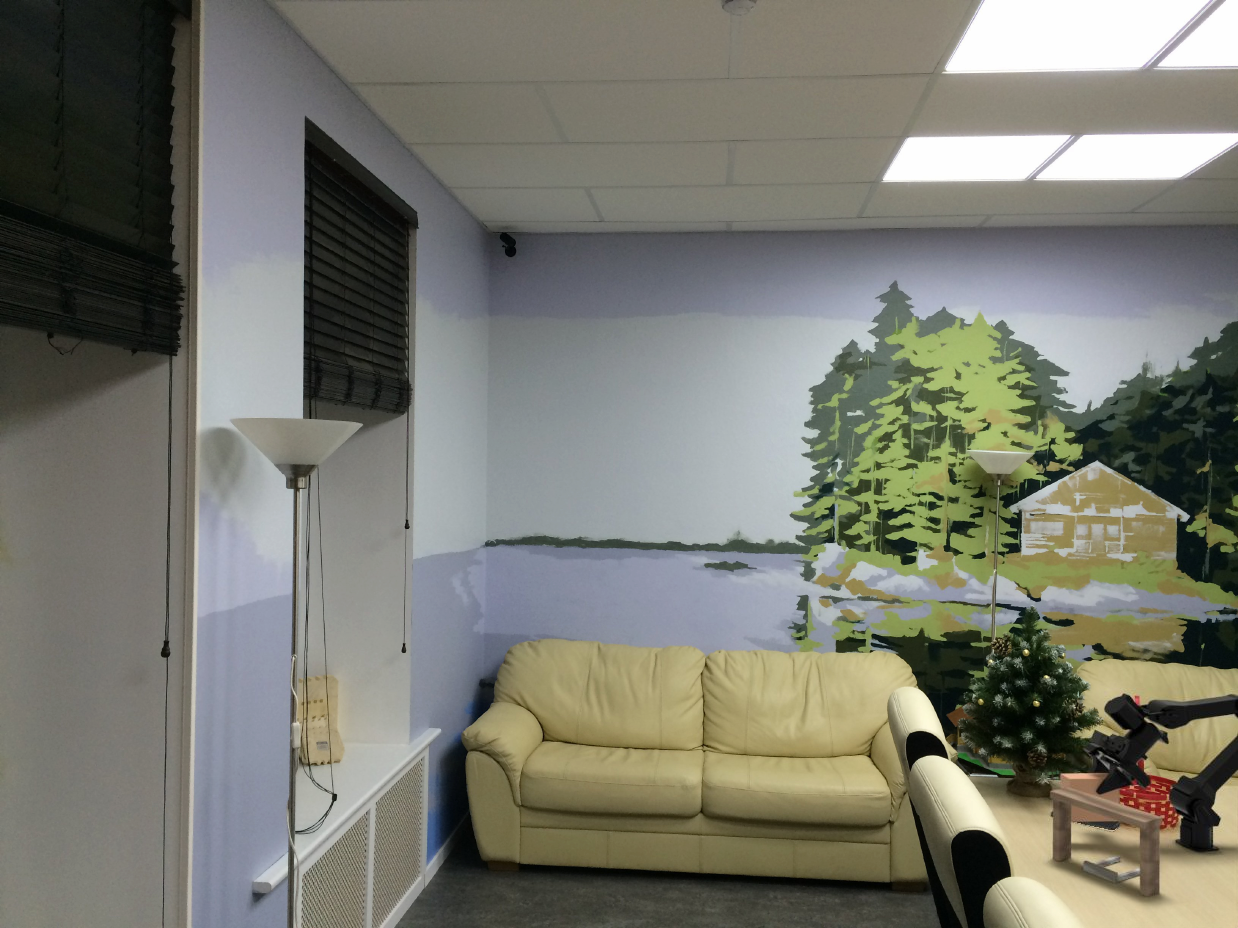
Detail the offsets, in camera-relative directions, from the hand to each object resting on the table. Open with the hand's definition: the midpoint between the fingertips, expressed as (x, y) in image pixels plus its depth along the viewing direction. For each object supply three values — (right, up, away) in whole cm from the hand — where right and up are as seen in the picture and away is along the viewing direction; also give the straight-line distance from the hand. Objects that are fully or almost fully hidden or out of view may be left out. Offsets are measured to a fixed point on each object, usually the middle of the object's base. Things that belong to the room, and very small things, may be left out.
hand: (1092, 789), depth 212 cm
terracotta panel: (-1, -7, 0) cm, 7 cm away
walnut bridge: (-3, -12, -16) cm, 20 cm away
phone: (+7, -14, +16) cm, 23 cm away
